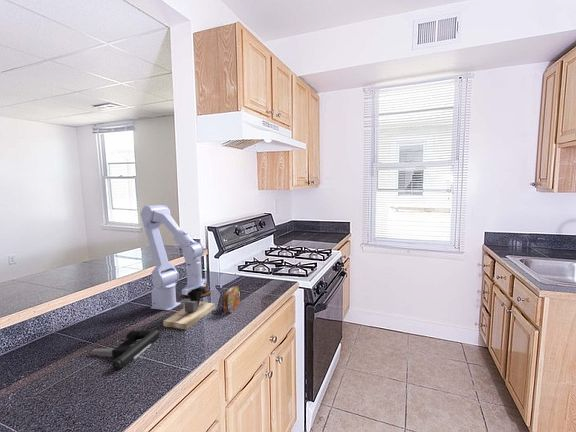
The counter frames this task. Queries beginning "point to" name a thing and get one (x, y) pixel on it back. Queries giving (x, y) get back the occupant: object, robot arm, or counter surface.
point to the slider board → (188, 316)
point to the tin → (231, 299)
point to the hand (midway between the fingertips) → (195, 305)
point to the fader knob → (191, 306)
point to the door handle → (128, 347)
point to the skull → (204, 291)
